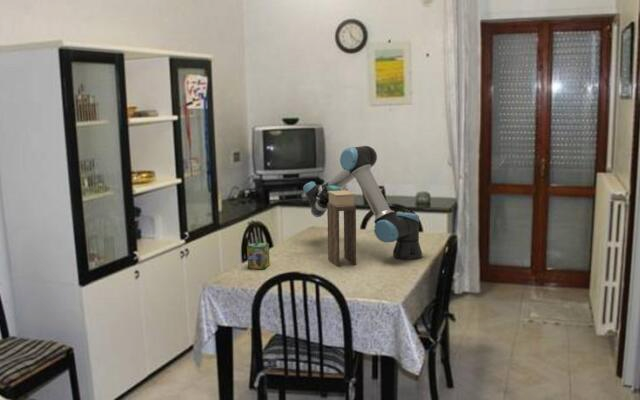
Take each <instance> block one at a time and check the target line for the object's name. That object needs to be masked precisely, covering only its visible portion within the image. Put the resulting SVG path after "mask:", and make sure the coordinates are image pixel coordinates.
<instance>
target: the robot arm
mask: <svg viewBox="0 0 640 400" xmlns="http://www.w3.org/2000/svg"><path fill="white" fill-rule="evenodd" d="M377 154H378V153H377V152H376V150H375V149H374V148H373V147H371V146H369V145H361V146H351V147H346V148H345V149H343V151H342V152H341V153H340V157H339V164H340V166H341V168H342V170H340V172H338V173H337V174H336V175H334V176H333V177H332V178H331V179H330V180H329V181H327V182H326V183H324V184H316V182H315V181H310V182H307V183H305V184H304V185H303V187H302V188H303V191H304V194H305V196H306V198H307V200H308V202H309V204H310V208H311V209H310V213H311V215H312V216H313V217H315V218H320V217H322V216H324V215H325V213H326V211H327V203H329V193H327V191H329V190H327V186H333V185H334V186H337V187H339V188H341V190H347V191H349V190H348V185H347V184H348V183H350V182H351V181H352V180H353V179H355V180H356V182H357V183H358V186H359V187H360V189H361V192H362V194H363V195H364V198H365V199H366V202H367V204H368V206H369V207H370V209H371V212H372V214H373V215H374V227H373V228H374V235H375V236H376V238H377V239H378V240H379V241H380V242H382V243H394V242H395V244H394V248H393V251H392V257H393V258H395V259H398V260H405V261H406V260H407V261H410V260H419V259H421V258H423V251H422V248H421V245H420V241H419V240H420V218H419V215H418V214H417V213H413V212H403V211H402V212H397V213H396V212H395V211H394V210H392V209H391V208H390V206H389V204H388V202H387V200H386V198H385V196H384V194H383V193H382V191H381V189H380V186H379V185H378V182H377V181H376V179H375V177H374V175H373V172H372V171H371V168H372V167H374V166H375V164H376V163H377V159H378V155H377Z"/></svg>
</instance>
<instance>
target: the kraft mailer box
mask: <svg viewBox="0 0 640 400" xmlns="http://www.w3.org/2000/svg"><path fill="white" fill-rule="evenodd" d="M329 203H330V204H332V205H334V206H336V207H344V206H354V205H355V196H340V197H336V196H333V195H331V194H329Z"/></svg>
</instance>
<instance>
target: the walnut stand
mask: <svg viewBox="0 0 640 400" xmlns="http://www.w3.org/2000/svg"><path fill="white" fill-rule="evenodd" d="M326 211H327V213H326V214H327V260H328V261H329V262H331V263H332V264H333V265H335V266H336V267H337V268H339V267H341V265H340V264H341V263H340V262H341V261H340V260H341V259H340V212H343V244H344V245H343V250H344V251H343V252H344V253H343V254H344V255H343V256H344V257H343V258H344V259H345V260H347V262H349V263H350V264H352V265H353V266H357V206H356V205H355V204H354V206H344V207H336V206H334V205H332V204H330V203H327V210H326Z"/></svg>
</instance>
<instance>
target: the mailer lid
mask: <svg viewBox="0 0 640 400" xmlns="http://www.w3.org/2000/svg"><path fill="white" fill-rule="evenodd" d="M327 190H329V191H327V193H329V194H331V195H333V196H336V197H340V196H354V197H355V196H356V193H354V192H352V191H349V190H348V191H347V190H342V188H339V187H337V186H334V185H333V186H327Z"/></svg>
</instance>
